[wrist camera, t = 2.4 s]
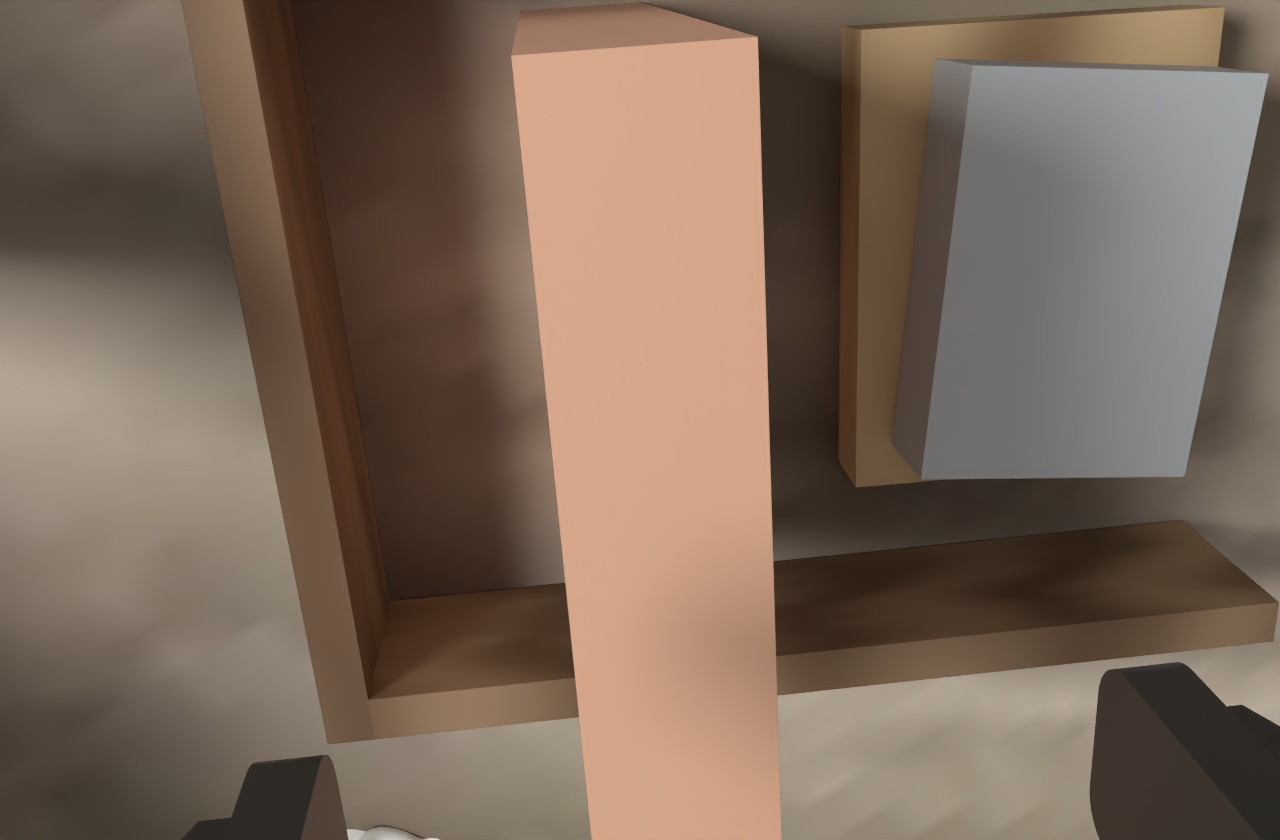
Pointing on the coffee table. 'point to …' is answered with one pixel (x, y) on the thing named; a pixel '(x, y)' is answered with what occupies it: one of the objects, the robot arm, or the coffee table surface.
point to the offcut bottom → (893, 162)
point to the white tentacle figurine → (382, 834)
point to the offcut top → (1069, 265)
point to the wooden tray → (538, 616)
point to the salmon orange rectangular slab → (657, 408)
